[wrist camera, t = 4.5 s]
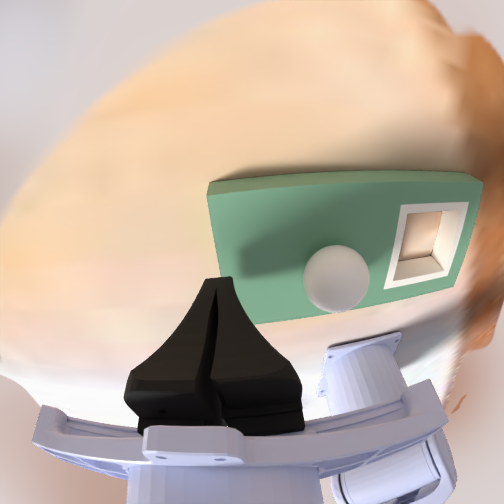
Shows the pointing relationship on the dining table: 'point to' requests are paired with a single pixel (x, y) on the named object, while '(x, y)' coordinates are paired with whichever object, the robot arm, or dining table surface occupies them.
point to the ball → (336, 278)
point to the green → (337, 233)
